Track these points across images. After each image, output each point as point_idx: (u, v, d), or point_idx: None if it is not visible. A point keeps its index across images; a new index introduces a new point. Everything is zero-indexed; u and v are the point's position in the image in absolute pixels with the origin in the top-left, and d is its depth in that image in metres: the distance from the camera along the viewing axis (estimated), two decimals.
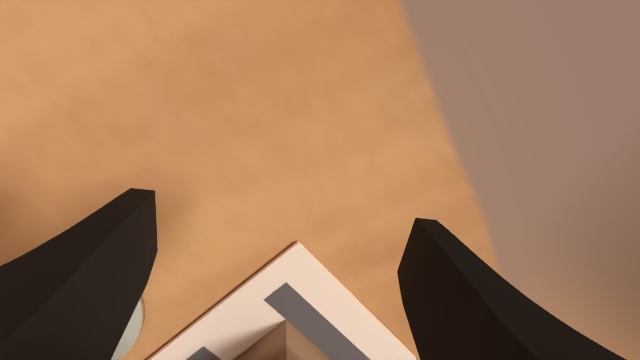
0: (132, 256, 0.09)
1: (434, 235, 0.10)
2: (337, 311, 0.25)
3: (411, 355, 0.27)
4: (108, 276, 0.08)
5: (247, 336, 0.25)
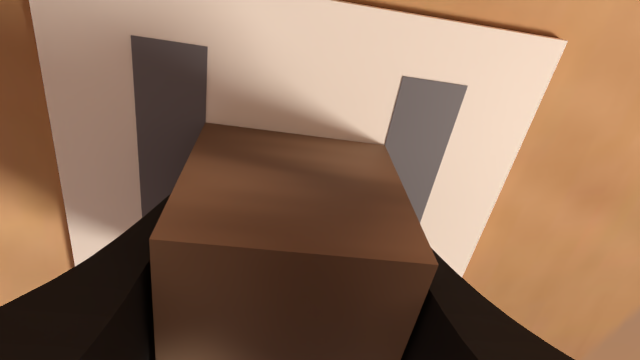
0: None
1: None
2: (451, 204, 0.13)
3: None
4: None
5: (298, 110, 0.11)
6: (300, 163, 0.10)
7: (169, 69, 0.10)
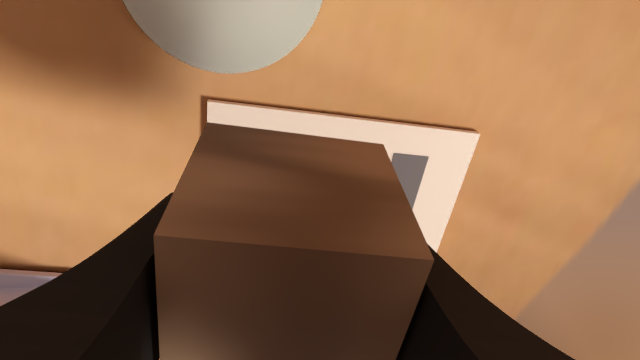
0: None
1: None
2: (424, 219, 0.22)
3: None
4: None
5: None
6: (300, 162, 0.10)
7: None
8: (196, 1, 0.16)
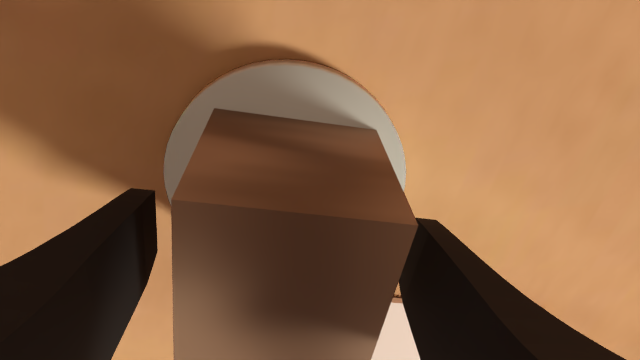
0: (132, 256, 0.09)
1: (434, 235, 0.10)
2: None
3: None
4: (108, 276, 0.08)
5: (392, 347, 0.19)
6: (300, 143, 0.11)
7: None
8: None
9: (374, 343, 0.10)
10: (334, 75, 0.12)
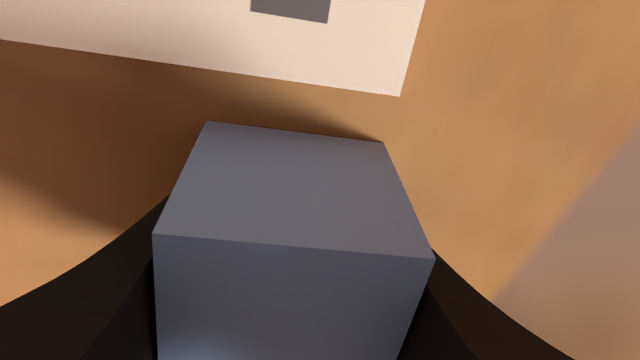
0: None
1: None
2: None
3: (403, 76, 0.11)
4: None
5: None
6: None
7: None
8: None
9: None
10: None
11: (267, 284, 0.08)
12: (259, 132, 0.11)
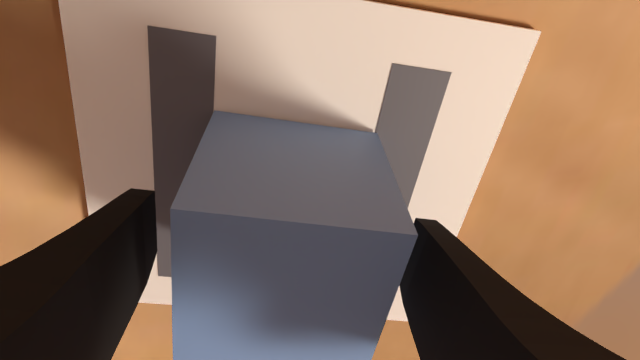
0: (132, 256, 0.09)
1: (434, 235, 0.10)
2: (439, 183, 0.14)
3: None
4: (108, 276, 0.08)
5: (297, 95, 0.12)
6: None
7: (181, 57, 0.11)
8: None
9: None
10: None
11: (270, 255, 0.09)
12: (263, 122, 0.12)
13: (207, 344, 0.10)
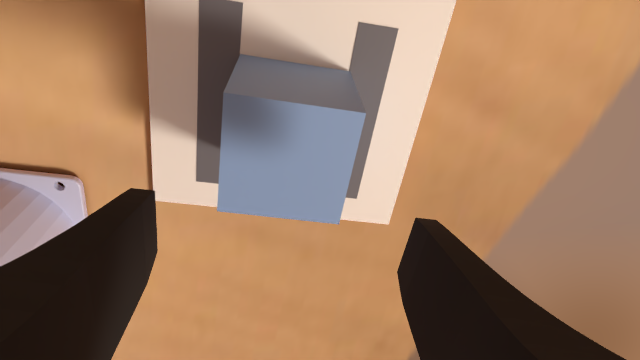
0: (132, 256, 0.09)
1: (434, 235, 0.10)
2: (395, 110, 0.20)
3: (390, 216, 0.23)
4: (108, 276, 0.08)
5: (296, 43, 0.18)
6: None
7: (220, 16, 0.17)
8: None
9: None
10: None
11: (279, 126, 0.15)
12: (273, 61, 0.18)
13: (239, 192, 0.16)
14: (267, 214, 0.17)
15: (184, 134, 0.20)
